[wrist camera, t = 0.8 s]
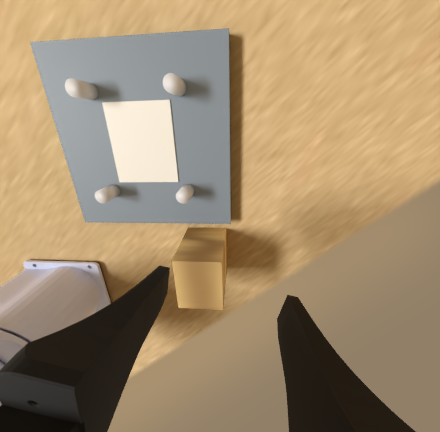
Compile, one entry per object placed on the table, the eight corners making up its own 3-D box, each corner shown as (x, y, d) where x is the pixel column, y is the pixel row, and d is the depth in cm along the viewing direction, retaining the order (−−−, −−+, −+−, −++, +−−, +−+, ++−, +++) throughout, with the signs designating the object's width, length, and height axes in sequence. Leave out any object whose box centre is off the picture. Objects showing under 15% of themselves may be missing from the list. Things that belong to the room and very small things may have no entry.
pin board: (91, 218, 23) (71, 231, 20) (41, 46, 17) (3, 31, 14) (231, 219, 22) (229, 233, 19) (229, 33, 16) (227, 15, 13)
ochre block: (192, 266, 25) (178, 307, 19) (188, 227, 23) (171, 261, 17) (226, 267, 24) (223, 309, 19) (226, 227, 22) (221, 262, 17)
